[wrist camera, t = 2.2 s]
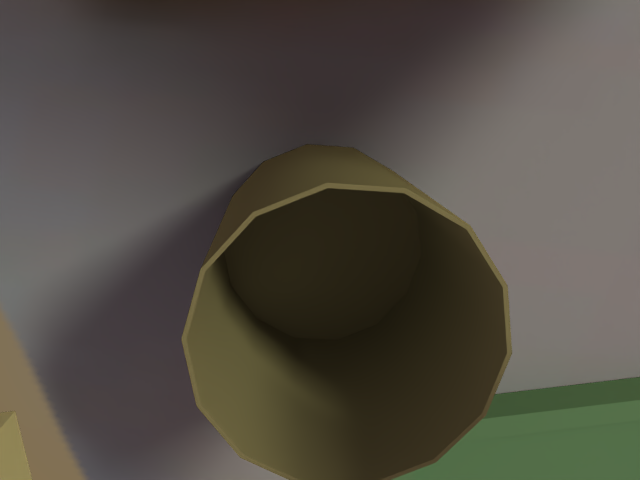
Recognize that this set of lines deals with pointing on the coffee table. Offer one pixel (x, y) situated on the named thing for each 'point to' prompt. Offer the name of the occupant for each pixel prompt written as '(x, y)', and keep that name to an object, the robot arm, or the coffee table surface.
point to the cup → (344, 321)
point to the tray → (550, 437)
